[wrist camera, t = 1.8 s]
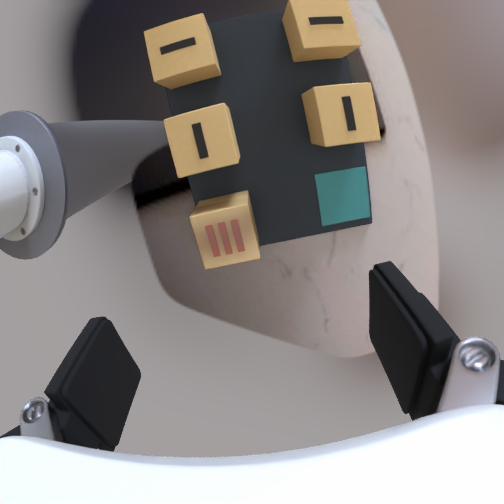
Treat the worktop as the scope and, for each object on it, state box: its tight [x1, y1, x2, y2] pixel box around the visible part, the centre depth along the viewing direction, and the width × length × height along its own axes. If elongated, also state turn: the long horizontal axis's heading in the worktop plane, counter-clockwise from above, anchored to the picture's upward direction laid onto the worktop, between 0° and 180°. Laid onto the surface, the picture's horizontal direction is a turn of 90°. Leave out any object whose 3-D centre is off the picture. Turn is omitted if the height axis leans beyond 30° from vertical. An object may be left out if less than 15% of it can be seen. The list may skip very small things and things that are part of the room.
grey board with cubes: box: [144, 0, 380, 246], centre depth 20 cm, size 20×15×5 cm
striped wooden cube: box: [189, 190, 260, 269], centre depth 23 cm, size 4×4×5 cm
